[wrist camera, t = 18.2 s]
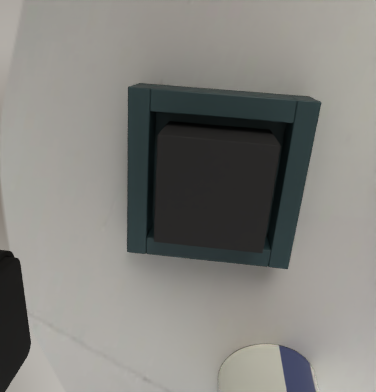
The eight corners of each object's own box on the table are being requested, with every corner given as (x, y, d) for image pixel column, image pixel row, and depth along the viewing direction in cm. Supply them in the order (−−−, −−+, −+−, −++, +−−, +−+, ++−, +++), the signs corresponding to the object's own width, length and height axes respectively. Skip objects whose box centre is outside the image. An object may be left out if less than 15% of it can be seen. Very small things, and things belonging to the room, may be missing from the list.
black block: (164, 212, 23) (153, 242, 20) (168, 120, 21) (157, 134, 17) (256, 222, 23) (263, 253, 19) (270, 129, 21) (281, 145, 17)
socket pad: (136, 233, 25) (127, 252, 22) (138, 82, 21) (127, 86, 19) (281, 248, 24) (288, 269, 22) (310, 96, 20) (321, 101, 18)
